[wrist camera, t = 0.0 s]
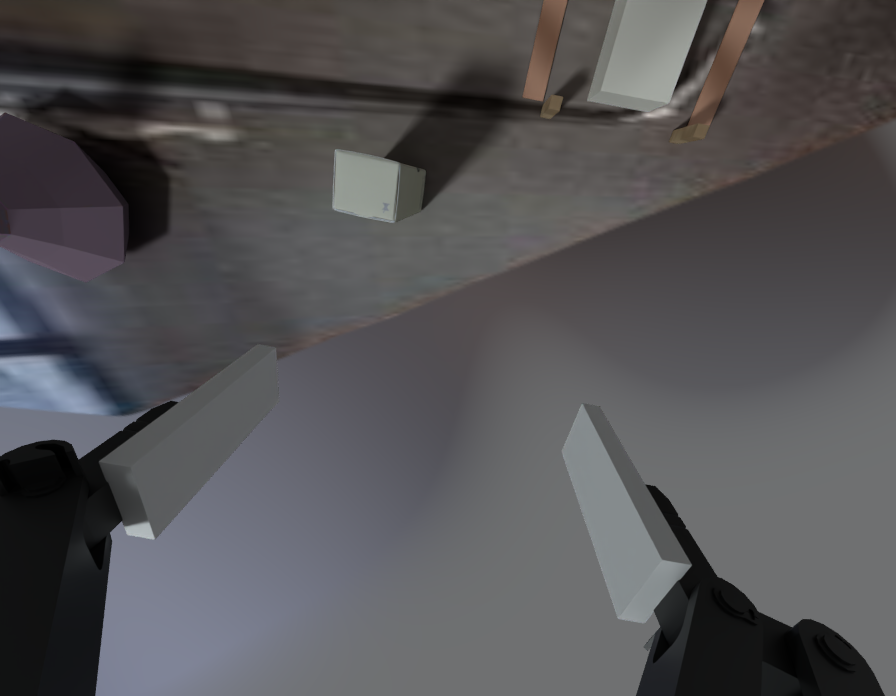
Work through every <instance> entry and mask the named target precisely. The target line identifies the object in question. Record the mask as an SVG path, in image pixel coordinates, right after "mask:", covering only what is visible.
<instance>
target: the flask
mask: <svg viewBox="0 0 896 696" xmlns="http://www.w3.org/2000/svg"><path fill="white" fill-rule="evenodd" d="M128 238H129V204H128V203H127V201H126V200H125V199H124V197H123V196H122V195H121V193H120V192H119V191H118V189H117V188H116V187H115V185H114V184H113V183H112V181H111V180H110V179H109V177H108V176H107V174H106V173H105V172H104V171H103V170H102V169H101V168H100V167H99V166H98V165H97V164H96V163H95V162H94V161H93V160H92V159H91V158H90V157H89V156H88V155H87V154H86V153H85V152H84V151H83V150H82V149H81V148H80V147H79V146H78V145H77V144H76V143H75V142H74V141H72V140H69V139H67V138H65V137H62V136H60V135H57V134H55V133H53V132H50V131H48V130H46V129H43V128H41V127H38V126H36V125H34V124H31V123H29V122H26V121H24V120H22V119H19V118H17V117H15V116H12V115H10V114H7V113H4V114H2V115H1V116H0V247H2V248H4V249H6V250H8V251H10V252H12V253H14V254H16V255H18V256H20V257H22V258H24V259H26V260H28V261H30V262H33V263H35V264H38V265H41V266H43V267H46V268H49V269H51V270H54V271H57V272H59V273H62V274H65V275H67V276H70V277H73V278H75V279H78V280H81V281H83V282H88V281H90V280H92V279H94V278H96V277H98V276H100V275H101V274H103V273H105V272H107V271H109V270H111V269H113V268H115V267H117V266H118V265H120V264H122V263H124V262H125V256H126V250H127V244H128Z"/></svg>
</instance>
